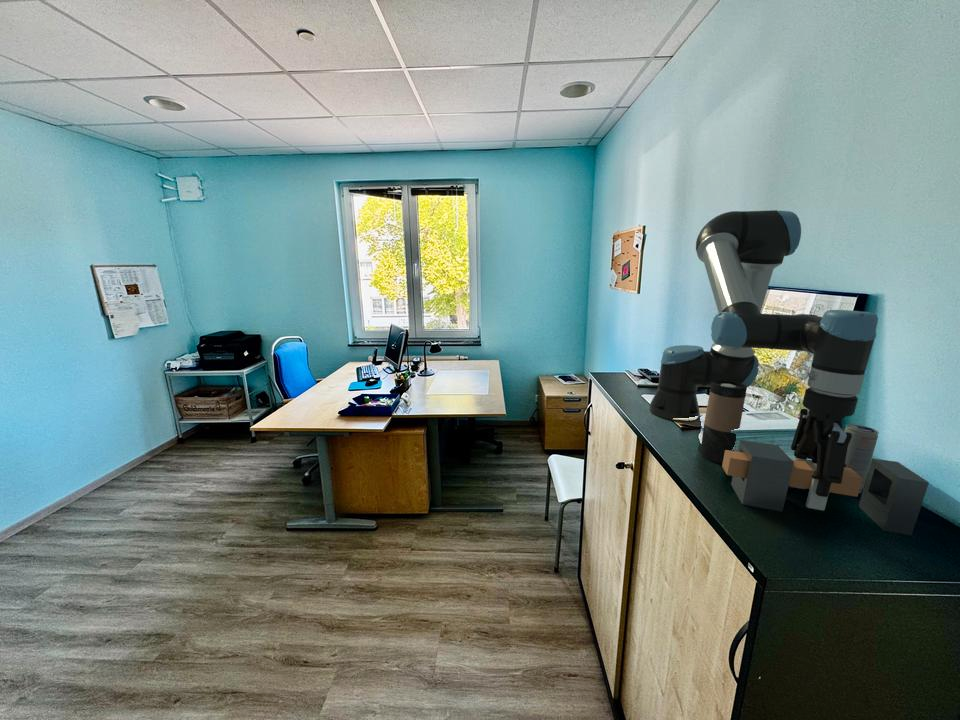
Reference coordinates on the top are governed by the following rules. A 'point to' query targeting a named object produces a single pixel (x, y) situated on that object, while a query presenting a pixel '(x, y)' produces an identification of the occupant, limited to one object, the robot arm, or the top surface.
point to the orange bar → (795, 473)
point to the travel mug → (722, 418)
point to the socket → (893, 496)
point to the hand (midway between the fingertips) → (805, 496)
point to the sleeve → (763, 476)
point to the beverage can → (860, 449)
